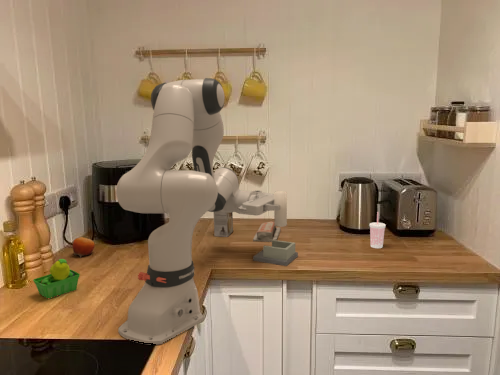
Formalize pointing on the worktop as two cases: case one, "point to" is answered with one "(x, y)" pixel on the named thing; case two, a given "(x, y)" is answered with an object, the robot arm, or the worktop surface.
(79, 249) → the fruit
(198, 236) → the worktop surface
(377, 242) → the beverage cup
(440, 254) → the worktop surface
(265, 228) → the packaged product
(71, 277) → the fruit basket
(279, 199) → the tall white cylinder
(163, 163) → the robot arm
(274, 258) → the cradle jig
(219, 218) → the coffee box
